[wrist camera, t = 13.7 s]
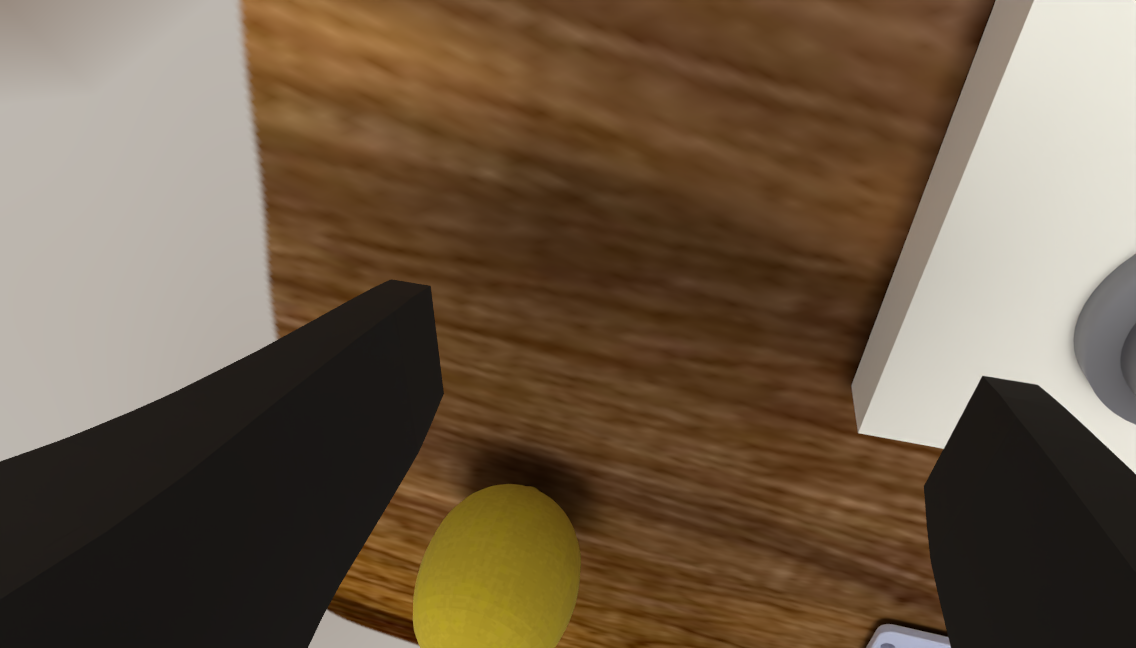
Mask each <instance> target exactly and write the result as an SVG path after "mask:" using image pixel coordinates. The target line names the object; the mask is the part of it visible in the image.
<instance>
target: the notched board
mask: <svg viewBox="0 0 1136 648" xmlns="http://www.w3.org/2000/svg"><path fill="white" fill-rule="evenodd" d="M982 376H988V377H994V378H1000V379H1006V380H1012V381H1018V382H1024V383H1031V384H1037V385H1039V386H1040V387H1041V388H1042V389H1044V390H1045V391H1046V392H1047V393H1048V394H1050V395H1051V396H1052V397H1053V398H1054V399H1056V400H1057V401H1058V402H1059V403H1060V404H1061V405H1062V406H1063V407H1065V408H1066V409H1067V410H1068V411H1069V412H1070V413H1071V414H1072V415H1073V416H1074V417H1076V418H1077V419H1078V420H1079V421H1080V422H1081V423H1082V424H1083V425H1084V426H1085V427H1086V428H1087V429H1088V430H1090V431H1091V432H1092V433H1093V434H1094V435H1095V436H1096V437H1097V438H1098V439H1099V440H1100V441H1101V442H1102V443H1103V444H1104V445H1106V446H1107V447H1108V448H1109V449H1110V450H1111V451H1112V452H1113V453H1114V454H1115V455H1116V456H1117V457H1118V458H1119V459H1120V460H1121V461H1123V462H1124V463H1125V464H1126V465H1127V466H1128V467H1129V468H1130V469H1131V470H1132V471H1133V472H1134V473H1135V474H1136V0H996V1H995V4H994V6H993V9H992V12H991V14H990V17H989V20H988V22H987V25H986V28H985V30H984V33H983V36H982V38H981V41H980V44H979V46H978V49H977V52H976V54H975V57H974V60H973V62H972V65H971V68H970V70H969V73H968V76H967V78H966V81H965V84H964V86H963V89H962V92H961V94H960V97H959V100H958V102H957V105H956V108H955V110H954V113H953V116H952V118H951V121H950V124H949V126H948V129H947V132H946V134H945V137H944V140H943V142H942V145H941V148H940V150H939V153H938V156H937V158H936V161H935V164H934V166H933V169H932V172H931V174H930V177H929V180H928V182H927V185H926V188H925V190H924V193H923V196H922V198H921V201H920V204H919V206H918V209H917V212H916V214H915V217H914V220H913V222H912V225H911V228H910V230H909V233H908V236H907V238H906V241H905V244H904V246H903V249H902V252H901V254H900V257H899V260H898V262H897V265H896V268H895V270H894V273H893V276H892V278H891V281H890V284H889V286H888V289H887V292H886V294H885V297H884V300H883V302H882V305H881V308H880V310H879V313H878V316H877V318H876V321H875V324H874V326H873V329H872V332H871V334H870V337H869V340H868V342H867V345H866V348H865V350H864V353H863V356H862V358H861V361H860V364H859V366H858V369H857V372H856V374H855V377H854V380H853V382H852V385H851V387H852V394H853V401H854V408H855V415H856V422H857V429H858V433H861V434H867V435H872V436H877V437H883V438H888V439H894V440H899V441H905V442H910V443H916V444H921V445H927V446H932V447H938V448H943V449H944V447H945V446H946V444H947V442H948V440H949V438H950V436H951V434H952V432H953V430H954V429H955V427H956V425H957V423H958V421H959V419H960V417H961V415H962V413H963V411H964V410H965V408H966V406H967V404H968V402H969V400H970V398H971V396H972V394H973V393H974V391H975V389H976V387H977V385H978V383H979V381H980V379H981V377H982Z"/></svg>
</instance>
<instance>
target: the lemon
mask: <svg viewBox="0 0 1136 648" xmlns="http://www.w3.org/2000/svg"><path fill="white" fill-rule="evenodd" d="M580 568H581V555H580V548H579V543H578V540H577V537H576V534H575V531H574V528H573V525H572V524H571V522H570V520H569V518H568V517H567V515H566V514H565V512H564V511H563V510H562V508H561V507H560V506H559V505H558V504H557V503H556V502H555V501H554V500H552V499H551V498H550V497H548V496H547V495H545V494H543V493H542V492H540V491H539V490H538V489H536V488H535V487H532V486H523V485H517V484H501V485H494V486H490V487H487V488H485V489H482V490H479V491H477V492H475V493H473V494H471V495H470V496H468V497H467V498H466V499H464V500H463V501H462V502H460V503H459V504H458V505H457V506H456V507H454V508H453V509H452V510H451V512H450V513H449V514H448V515H447V516H446V517H445V519H444V520H443V521H442V523H441V524H440V526H439V528H438V529H437V531H436V533H435V534H434V536H433V538H432V540H431V542H430V544H429V546H428V548H427V550H426V552H425V554H424V557H423V560H422V562H421V565H420V569H419V572H418V576H417V580H416V585H415V591H414V598H413V625H414V631H415V634H416V638H417V641H418V643H419V646H420V648H555V647H556V645H557V644H558V642H559V640H560V638H561V637H562V635H563V633H564V631H565V629H566V627H567V625H568V623H569V620H570V618H571V615H572V613H573V610H574V607H575V604H576V600H577V595H578V590H579V583H580Z"/></svg>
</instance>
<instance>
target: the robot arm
mask: <svg viewBox="0 0 1136 648" xmlns="http://www.w3.org/2000/svg"><path fill="white" fill-rule="evenodd" d="M443 394H444V392H443V384H442V376H441V367H440V359H439V351H438V343H437V335H436V327H435V319H434V310H433V302H432V294H431V286H428V285H422V284H415V283H409V282H403V281H397V280H389V281H387V282H385V283H382V284H380V285H378V286H376V287H374V288H372V289H370V290H368V291H366V292H364V293H363V294H361V295H359V296H357V297H355V298H353V299H351V300H350V301H348V302H346V303H344V304H342V305H340V306H339V307H337V308H335V309H333V310H331V311H330V312H328V313H326V314H324V315H322V316H321V317H319V318H317V319H315V320H313V321H311V322H310V323H308V324H306V325H304V326H302V327H300V328H299V329H297V330H295V331H293V332H291V333H289V334H288V335H286V336H284V337H282V338H280V339H278V340H277V341H275V342H273V343H271V344H269V345H267V346H266V347H264V348H262V349H260V350H258V351H256V352H254V353H252V354H250V355H248V356H246V357H244V358H242V359H240V360H238V361H236V362H234V363H232V364H231V365H228V366H226V367H224V368H223V369H220V370H218V371H217V372H214V373H212V374H210V375H208V376H206V377H204V378H202V379H200V380H198V381H196V382H194V383H192V384H190V385H188V386H186V387H184V388H182V389H180V390H178V391H176V392H174V393H172V394H169V395H167V396H165V397H163V398H161V399H159V400H156V401H154V402H152V403H150V404H147V405H145V406H143V407H141V408H138V409H136V410H134V411H132V412H129V413H127V414H124V415H122V416H119V417H117V418H114V419H112V420H110V421H107V422H105V423H102V424H100V425H98V426H95V427H93V428H90V429H88V430H85V431H83V432H81V433H78V434H75V435H73V436H70V437H68V438H65V439H62V440H60V441H57V442H54V443H52V444H49V445H46V446H43V447H40V448H38V449H35V450H32V451H29V452H26V453H23V454H20V455H18V456H15V457H12V458H9V459H6V460H3V461H1V462H0V648H308V646H309V644H310V642H311V640H312V638H313V636H314V633H315V631H316V629H317V627H318V625H319V623H320V621H321V619H322V617H323V615H324V613H325V611H326V609H327V607H328V606H329V604H330V602H331V600H332V598H333V596H334V595H335V593H336V591H337V589H338V587H339V585H340V584H341V582H342V580H343V579H344V577H345V575H346V574H347V572H348V570H349V569H350V567H351V565H352V564H353V562H354V560H355V559H356V557H357V555H358V554H359V552H360V550H361V549H362V547H363V545H364V544H365V542H366V540H367V539H368V537H369V535H370V534H371V532H372V530H373V529H374V527H375V525H376V524H377V522H378V520H379V519H380V517H381V515H382V514H383V512H384V510H385V509H386V507H387V505H388V504H389V502H390V500H391V499H392V497H393V495H394V494H395V492H396V490H397V489H398V487H399V485H400V483H401V482H402V480H403V478H404V477H405V475H406V473H407V472H408V470H409V468H410V466H411V465H412V463H413V461H414V459H415V458H416V456H417V454H418V452H419V450H420V448H421V446H422V444H423V441H424V439H425V437H426V435H427V432H428V430H429V428H430V426H431V423H432V421H433V418H434V416H435V413H436V411H437V408H438V406H439V404H440V401H441V399H442V396H443ZM924 493H925V506H926V519H927V531H928V540H929V549H930V558H931V564H932V569H933V573H934V578H935V582H936V586H937V591H938V595H939V599H940V604H941V608H942V612H943V616H944V621H945V625H946V629H947V633H948V637H946V636H942V635H937V634H933V633H929V632H924V631H920V630H916V629H911V628H907V627H903V626H898V625H894V624H884V625H881V626H879V627H878V628H877V630H876V631H875V633H874V635H873V637H872V638H871V640H870V642H869V643H868V645H867V647H866V648H1136V474H1135V473H1134V472H1133V471H1132V470H1131V469H1130V468H1129V467H1128V466H1127V465H1126V464H1125V463H1124V462H1123V461H1121V460H1120V459H1119V458H1118V457H1117V456H1116V455H1115V454H1114V453H1113V452H1112V451H1111V450H1110V449H1109V448H1108V447H1107V446H1106V445H1104V444H1103V443H1102V442H1101V441H1100V440H1099V439H1098V438H1097V437H1096V436H1095V435H1094V434H1093V433H1092V432H1091V431H1090V430H1088V429H1087V428H1086V427H1085V426H1084V425H1083V424H1082V423H1081V422H1080V421H1079V420H1078V419H1077V418H1076V417H1074V416H1073V415H1072V414H1071V413H1070V412H1069V411H1068V410H1067V409H1066V408H1065V407H1063V406H1062V405H1061V404H1060V403H1059V402H1058V401H1057V400H1056V399H1054V398H1053V397H1052V396H1051V395H1050V394H1048V393H1047V392H1046V391H1045V390H1044V389H1042V388H1041V387H1040V386H1039V385H1037V384H1031V383H1024V382H1018V381H1012V380H1006V379H1000V378H994V377H988V376H982V377H981V379H980V381H979V383H978V385H977V387H976V389H975V391H974V393H973V394H972V396H971V398H970V400H969V402H968V404H967V406H966V408H965V410H964V411H963V413H962V415H961V417H960V419H959V421H958V423H957V425H956V427H955V429H954V430H953V432H952V434H951V436H950V438H949V440H948V442H947V444H946V446H945V447H944V449H943V451H942V453H941V455H940V457H939V459H938V461H937V463H936V465H935V466H934V468H933V470H932V472H931V474H930V476H929V478H928V480H927V482H926V483H925V485H924Z"/></svg>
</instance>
